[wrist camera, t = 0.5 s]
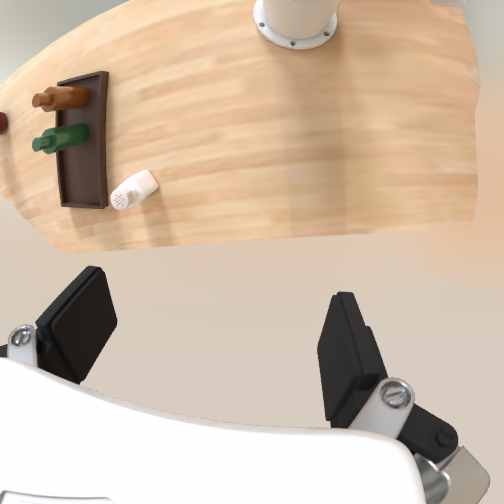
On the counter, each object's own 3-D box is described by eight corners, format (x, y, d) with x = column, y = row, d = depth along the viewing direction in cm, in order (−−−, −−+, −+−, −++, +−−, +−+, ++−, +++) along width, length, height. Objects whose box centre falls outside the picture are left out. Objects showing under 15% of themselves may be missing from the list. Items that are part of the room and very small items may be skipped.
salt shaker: (132, 180, 43) (103, 196, 35) (148, 167, 42) (120, 181, 34) (144, 198, 45) (118, 218, 36) (160, 186, 43) (135, 204, 35)
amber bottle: (73, 88, 34) (29, 90, 24) (90, 84, 34) (45, 84, 24) (72, 109, 36) (27, 116, 26) (89, 106, 36) (44, 111, 26)
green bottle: (72, 124, 38) (27, 133, 27) (88, 121, 38) (43, 129, 27) (72, 145, 40) (29, 159, 29) (88, 143, 40) (44, 157, 29)
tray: (64, 82, 34) (57, 82, 32) (108, 71, 34) (102, 70, 32) (67, 203, 46) (61, 206, 44) (108, 205, 46) (103, 209, 44)
